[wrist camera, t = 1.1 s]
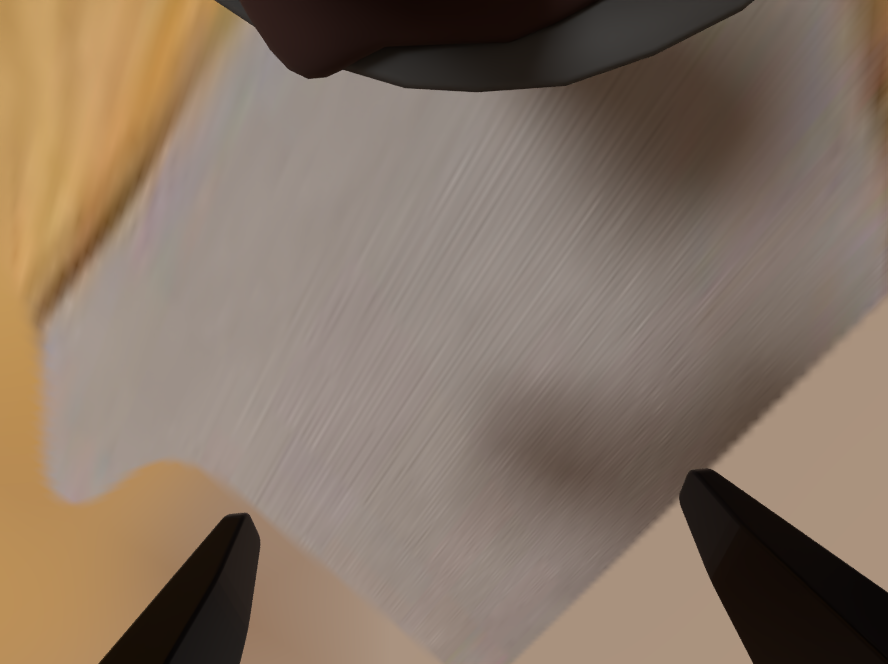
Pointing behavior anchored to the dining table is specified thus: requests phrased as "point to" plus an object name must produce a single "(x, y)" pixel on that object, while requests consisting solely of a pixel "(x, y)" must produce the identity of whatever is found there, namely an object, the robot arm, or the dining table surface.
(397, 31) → the sundae
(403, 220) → the dining table surface
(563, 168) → the dining table surface
